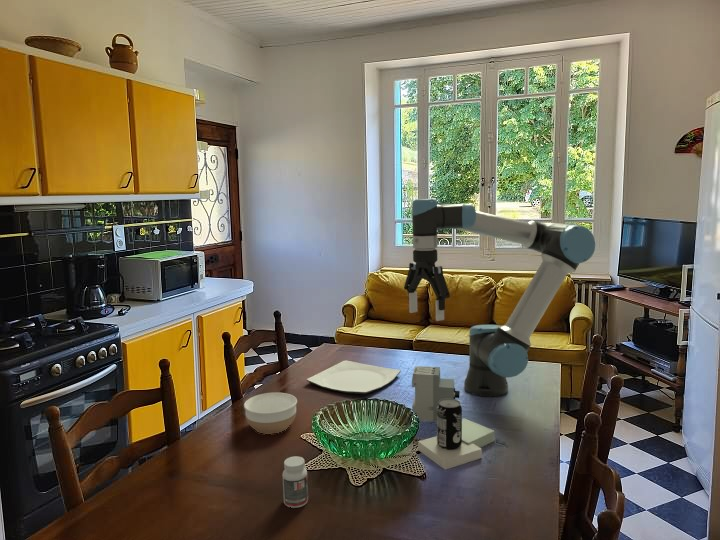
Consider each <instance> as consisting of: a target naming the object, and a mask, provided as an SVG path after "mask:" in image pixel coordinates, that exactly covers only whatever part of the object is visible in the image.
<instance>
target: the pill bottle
mask: <svg viewBox="0 0 720 540" xmlns="http://www.w3.org/2000/svg"><path fill="white" fill-rule="evenodd" d="M305 461H306V460H305V459H304V458H303V457H302V456H296V455H295V456H290V457H287V458H285V460H284V462H283V468H284V470H283V471H282V476H281V477H282V497H283V504H284V505H285V506H287V508H290V507H291V508H292V509H296V508H297V509H298V508H301V507H304V506H305V505H306V504H307V503H308V501H309V486H308V485H309V480H308V471H307V469H306V467H305V465H306V462H305Z"/></svg>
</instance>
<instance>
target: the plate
mask: <svg viewBox="0 0 720 540" xmlns="http://www.w3.org/2000/svg"><path fill="white" fill-rule="evenodd" d="M401 371H402V370H401V369H397V368H396V369H395V368H390V367H389V368H388V367H382V366H378V365H377V366H376V365H372V364H366V363H361V362H356V361H351V360H345V359H344V360H342V361H341V362H338V363H336V364H335V365H333V366H331V367H329V368H326V369H325V370H322V371H320V372H318V373H316V374H315V375H312V376H311V377H308V378H306V381H307V382H308V383H310V384H312V385H315V386H317V387H320V388H322V389H326V390H331V391H334V392H338V393H339V392H340V393H345V394H355V395H356V394H357V395H368V394H370V393H372V392H375V391H378V390H380V389H382V388H384V387H385V386H388V384H390V383H392V382H393V381H394V380H395V379H396V378H397V377H398V375H399V374H401Z"/></svg>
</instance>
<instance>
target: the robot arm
mask: <svg viewBox="0 0 720 540" xmlns="http://www.w3.org/2000/svg"><path fill="white" fill-rule="evenodd" d="M411 221H412V248H413V251H412V261H413V262H409V264H408V268H409V269H408V272H407V276H406V279H405V282H404V285H403V290H405V291H407V293H408V304H409V305H408V308H409V309H408V310H409V313H410V314H412V313H417V312H418V291H417V289H418V287H419V285H420V283H421V281H422V280H425V281H426V282H428V283H429V284H430V286H431V289H432V291H433V293H434V294H435V295H434V296H435V297H436V298H435V300H434V301H435V321H436V322H439V321H444V320H445V309H446V300H447V299H448V298H450V297H451V295H450V292H449V288H448V285H447V282H446V279H445V275H444V271H443V270H444V269H443V266H441V265H440V266H436V262H437V261H438V249H437V248H438V230H448V229H449V230H451V229H452V230H453V229H454V230H458V231H462V232H467V233H472V234H477V235H481V236H485V237H489V238H494V239H496V240H497V239H498V240H503V241H507V242H511V243H516V244H520V245H522V247H523V248H525V249H529V250H532V251H535V252H538V253H541V254H540V256H541V260H542V262H541V263H540V265H539V267H538V268H537V270H536V272H535V274H534V275H533V277H532V278H531V280H530V282H529V283H528V286H527V287H526V288H525V290H524V293H523V294H522V296H521V298H520V299H519V300H518V302H517V304H516V306H515V308H514V309H513V310H512V311H513V312H512V313H511V314H510V316H509V318H508V319H507V321H506V323H505V324H503V325H498V324H478V325H477V324H476V325H473V326H471V327H470V329H469V335H468V337H469V357H468V358H469V359H468V360H469V364H468V365H469V367H468V370H467V374H466V377H465V379H464V384H463V385H464V387H463V388H464V390H465V391H466V392H468V393H469V394H472V395H475V396H479V397H480V396H481V397H499V396H503V395H505V394H507V393H508V391H509V383H508V381H507V378H514V377H517V376H519V375H520V374H521V373H523V372H524V371H525V370H526V368H527V367H528V363H529V358H528V357H529V355H528V351H529V350H530V348H531V346H532V343H531V340H530V338H531V337H532V334H533V333H534V331H535V330H536V328H537V326H538V324H539V323H540V321H541V319H542V318H543V316H544V315H545V313H546V311H547V310H548V307H549V306H550V304H551V302H553V300H554V297H555V296H556V294H557V292H558V291H559V289H560V288H561V285H562V284H563V283H564V280H565V279H566V277H567V275H569V274H572V273H575V272H576V271H577V268H578V267H579V264H583V263H584V262H587V261H589V260H590V259H591V258H592V257H593V255H594V253H595V250H596V240H595V236H594V234H593V233H592V231H591V230H590V229H588V227H585V226H584V225H579V224H577V223H572V224H571V223H561V222H544V221H543V222H541V221H536V220H529V221H528V222H526V221H522V220H519V219H513V218H509V217H506V216H505V217H504V216H501V215H497V214H496V215H495V214H492V213H487V212H484V211H483V212H482V211H478V210H476V209H475V206H474V205H473V204H472V203H464V202H463V203H444V202H439V203H438V202H437V199H436V198H419V199H418V198H417V199H414V200H413V201H412V207H411Z"/></svg>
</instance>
